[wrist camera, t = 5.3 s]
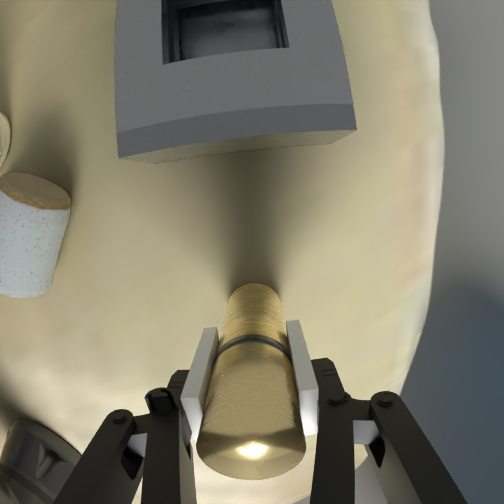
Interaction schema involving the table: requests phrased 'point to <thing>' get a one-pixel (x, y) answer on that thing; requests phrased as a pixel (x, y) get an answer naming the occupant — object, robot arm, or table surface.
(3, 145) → the water bottle
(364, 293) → the table surface
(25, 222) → the ceramic mug
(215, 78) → the collar stand
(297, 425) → the gold domed cylinder
